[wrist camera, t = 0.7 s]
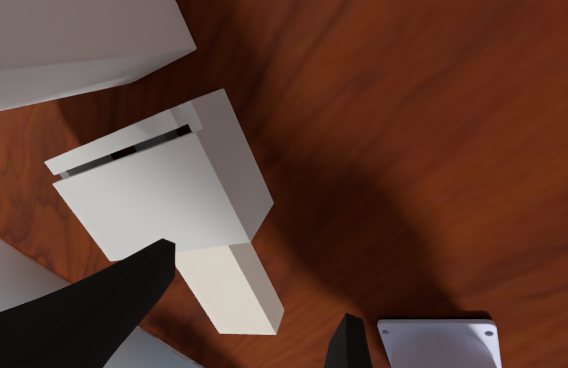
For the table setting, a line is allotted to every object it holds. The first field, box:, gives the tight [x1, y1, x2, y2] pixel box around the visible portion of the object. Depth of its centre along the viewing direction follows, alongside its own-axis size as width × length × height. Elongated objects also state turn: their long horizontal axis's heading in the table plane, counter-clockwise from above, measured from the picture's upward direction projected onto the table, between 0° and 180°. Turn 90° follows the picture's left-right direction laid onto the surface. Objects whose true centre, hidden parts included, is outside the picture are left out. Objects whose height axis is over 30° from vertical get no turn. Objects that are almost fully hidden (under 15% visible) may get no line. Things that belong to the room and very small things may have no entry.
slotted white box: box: [45, 88, 274, 261], centre depth 20 cm, size 8×13×4 cm, turn 112°
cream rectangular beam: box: [175, 242, 284, 335], centre depth 24 cm, size 10×6×2 cm, turn 22°
